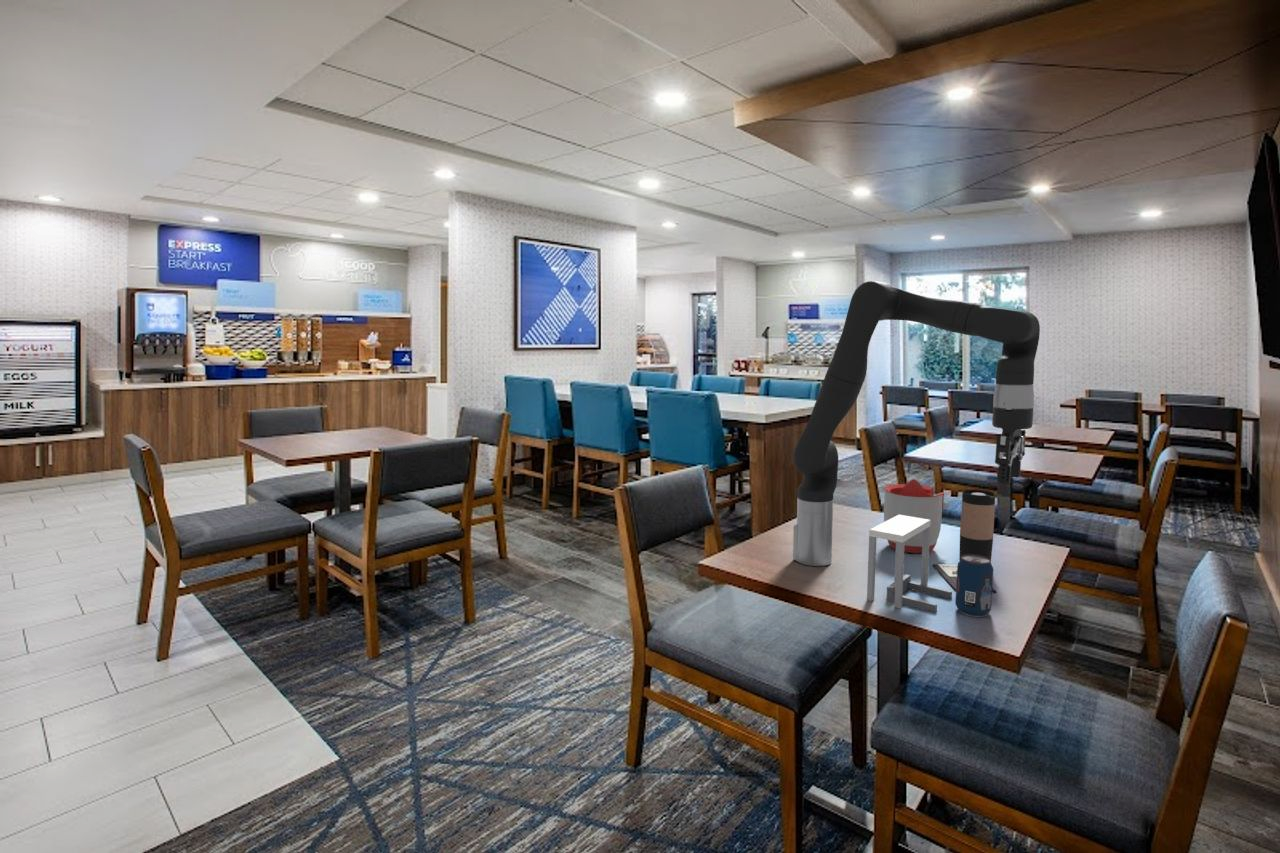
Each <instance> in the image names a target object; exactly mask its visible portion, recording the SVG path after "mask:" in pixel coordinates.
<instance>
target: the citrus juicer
mask: <svg viewBox="0 0 1280 853" xmlns="http://www.w3.org/2000/svg"><path fill="white" fill-rule="evenodd" d="M934 489H935V487H933V486H931V485H930V486H929V485H922V484H920V482H919V481H918V480H916V479H915V478H913V479H911V480H909V481H908V482H907V483H899V484H898V483H897V484H895V483H894V484H889V485H888V484H887V485H886V486H884V488H883V490H884V508H883V510H884V511H883V522H885V521H887V520H889V519H891V518H893V517H895V516H897V515H905V516H911V517H917V518H923V519H929V520H931V523H930V544H929V553H931V552H932V551H934V549H935V547H936V545H937V542H938V538H939V536H940V532H941V528H942V527H941V526H942V515H943V514H942V512H943V510H944V509H948V508H949V505H948V504H947V503H946V502H944V499H945V498H944V496H945V492H944V491H942V492H939V493H937V494H936V495H935V494H934V493H935V492H934V491H935V490H934ZM887 542H888V546H889V547H890V548H892V549H894V550H896V541H892V540H887ZM922 544H923V531H921V532H920V533H918V534H916V535H914V536H913V537H911V538H909V539H908V540H906V541H905V547H904V552H909V553H913V554H922Z"/></svg>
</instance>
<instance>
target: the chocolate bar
mask: <svg viewBox="0 0 1280 853" xmlns="http://www.w3.org/2000/svg"><path fill="white" fill-rule="evenodd" d="M931 566H932V567H933V569H934V570H935V571H936V570H937V571H938V572H939V573H938V572H937V571H936V572H937V573H938V574H939V575H940V576H941V577H942V578H943V580H945V582H946V583H947V584H948V585H949V586H950V587H951V588H952V589H953V591H955V592H956V583H957V566H958V564H950V563H949V564H946V563H945V564H944V563H940V564H939V563H932V565H931ZM992 594H997V590H996V588H994V586H992Z"/></svg>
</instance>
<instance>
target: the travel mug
mask: <svg viewBox="0 0 1280 853" xmlns="http://www.w3.org/2000/svg"><path fill="white" fill-rule="evenodd" d="M995 506H996V493H995V492H993V491H989V490H984V489H964V490H963V491H962V496H961V512H960V527H959V528H960V529H959V559H958V560H959V561H960V559H961V556H962V555H967V554H973V555H980V556H984V557H987V558H989V559H990V560H991V561H992V556H993V544H994V531H995V528H994V527H995V508H996V507H995ZM959 561H958V562H959Z"/></svg>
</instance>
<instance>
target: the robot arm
mask: <svg viewBox="0 0 1280 853" xmlns="http://www.w3.org/2000/svg"><path fill="white" fill-rule="evenodd" d="M888 320H889V321H908V322H913V323H914V322H915V323H919V324H924V325H926V326H930V327H932V328H936V329H940V330H943V331H946V332H951V333H956V334H961V335H966V336H972V337H979V338H982V339H986V340H990V341H993V342H994V341H995V342H998V343H1001V344H1002V349H1001V350H1002V351H1001V356H1000V358H999V359H998V361H997V363H996V371H995V372H996V373H995V385H994V387H995V388H994V390H993V391H994V392H993V401H992V402H993V403H992V405H993V406H992V422H991V423H992V426H993V427H994V428H997V429H1001V430H1002V431H1001V435H1000V434H999V435H997V436H996V444H995V445H996V446H995V459H994V463H995V464H997V466H998V468H997V469H998V471H997V482H998V483H999V484H1003V485H1008V484H1010V483H1011V478H1020V477H1021V468H1022V466H1021V465H1022V460H1023V458H1024V457H1025V455H1026V452H1025V451H1026V450H1025V449H1026V448H1025V447H1026V446H1025V445H1026V434H1027V433H1026V430H1028V429H1031V428H1033V421H1034V407H1035V406H1034V405H1035V404H1034V403H1035V391H1034V390H1035V389H1034V380H1035V378H1034V377H1035V360H1036V355H1037V352H1038V346H1039V341H1040V332H1041V329H1040V328H1041V326H1040V321H1039V319H1038V317H1037V316H1036V315H1035V314H1033V313H1031V312H1029V311H1026V310H1015V309H1009V308H1008V309H1007V308H1001V307H993V306H988V305H985V304H982V303H977V302H971V301H966V300H959V299H952V298H945V297H943V298H941V297H935V296H933V297H932V296H927V295H922V294H917V293H914V292H910V291H907V290H904V289H901V288H899V287H896V286H893V285H892V284H890V283H889V282H884V281H876V280H869V281H865V282H863V283H861V284H860V285H859V286H857V288H856V289H855V290H854V292H853V294H852V296H851V299H850V303H849V306H848V309H847V313H846V317H845V320H844V321H845V322H844V325H843V328H842V332H841V335H840V338H839V340H838V343H837V345H836V347H835V350H834V352H833V356H832V358H831V360H830V364H829V366H828V368H827V371H826V373H825V376H824V378H823V381H822V384H821V386H820V389H819V394H818V396H817V397H816V398H817V399H816V400H815V403H814V406H813V409H812V411H811V414H810V417H809V420H808V422H807V424H806V426H805V428H804V430H803V432H802V434H801V436H800V437H799V439H798V441H797V443H796V445H795V448H794V451H793V456H792V457H793V458H792V459H793V464H794V467H795V469H796V470H797V471H798V472H799V473H800V474H802V475H803V476H804V477H803V480H802V482H801V483H800V485H799V486H798V488H797V499H796V500H797V505H796V524H794V525H793V536H792V537H793V538H792V541H793V543H792V547H793V548H792V560H793V561H796V562H798V563H799V564H802V565H804V566H805V565H806V566H811V567H825V566H828V565H831V563H832V558H833V557H832V556H833V553H832V551H833V548H832V547H833V520H834V494H835V491H836V488H837V484H838V472H839V453H838V449H837V446H836V444H835V443H834V441H832V438H833V435H834V433H835V431H836V430H837V428H838V427H839V425H840V423H841V422H842V421H843V419H844V418H845V417H846V416H847V414H848V413H849V411H851V409H852V407H853V406H854V405H855V403H856V401H857V399H858V397H859V395H860V392H861V389H862V387H863V386H864V382H865V380H866V376H867V371H868V354H869V345H870V343H871V340H872V336H873V334H874V332H875V330H876V328H877V326H878V323H879V322H880V321H888Z"/></svg>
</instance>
